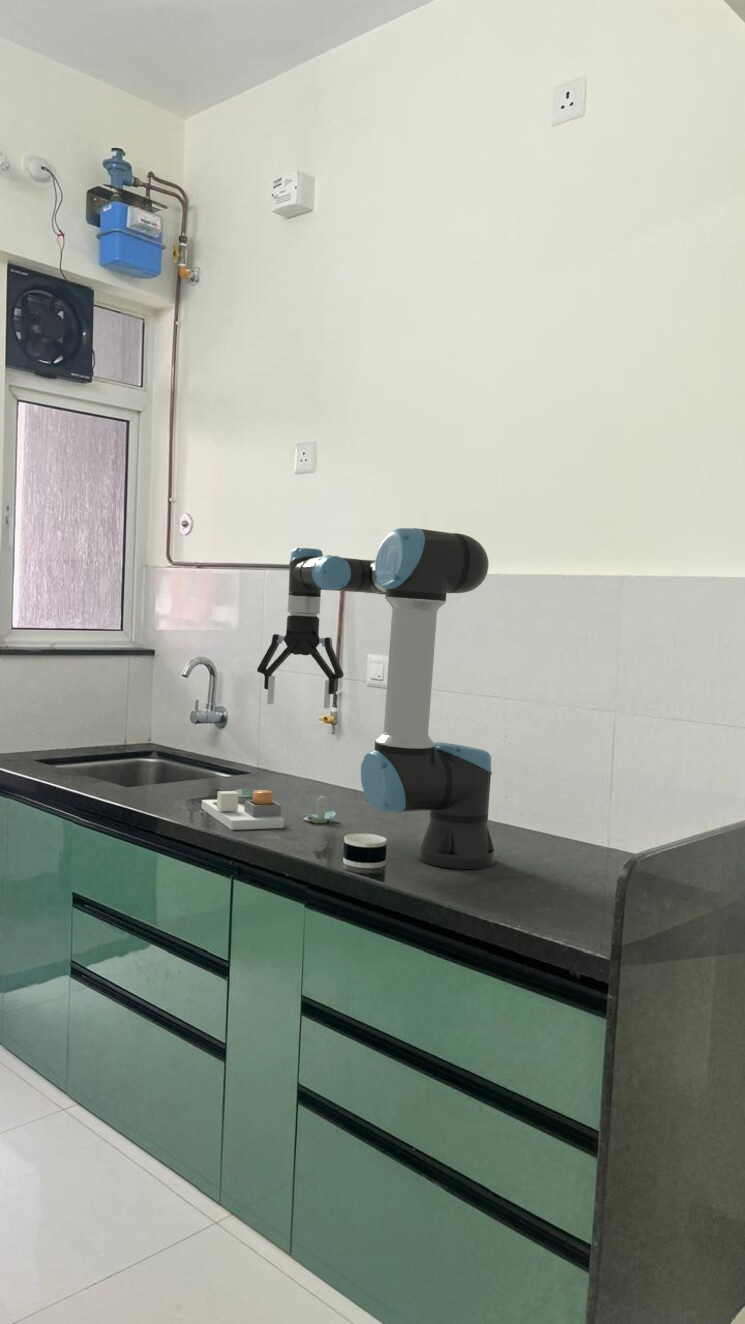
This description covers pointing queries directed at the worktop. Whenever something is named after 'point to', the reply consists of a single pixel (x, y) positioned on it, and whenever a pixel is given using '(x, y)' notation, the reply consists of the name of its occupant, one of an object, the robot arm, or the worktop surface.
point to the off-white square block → (227, 801)
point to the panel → (247, 814)
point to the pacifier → (320, 812)
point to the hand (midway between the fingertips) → (298, 706)
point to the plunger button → (263, 797)
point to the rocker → (246, 792)
